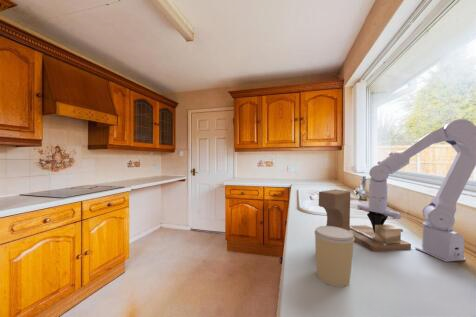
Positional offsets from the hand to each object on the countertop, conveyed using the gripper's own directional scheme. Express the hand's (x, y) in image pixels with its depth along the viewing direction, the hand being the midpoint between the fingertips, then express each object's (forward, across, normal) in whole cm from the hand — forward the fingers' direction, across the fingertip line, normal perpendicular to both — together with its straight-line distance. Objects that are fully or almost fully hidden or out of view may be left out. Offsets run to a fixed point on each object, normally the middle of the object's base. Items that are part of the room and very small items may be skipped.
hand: (377, 232), depth 78 cm
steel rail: (+1, +4, +3) cm, 5 cm away
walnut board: (+3, +3, 0) cm, 4 cm away
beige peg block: (+1, -5, 0) cm, 5 cm away
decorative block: (+3, +1, +23) cm, 23 cm away
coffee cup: (+3, -10, +36) cm, 38 cm away
